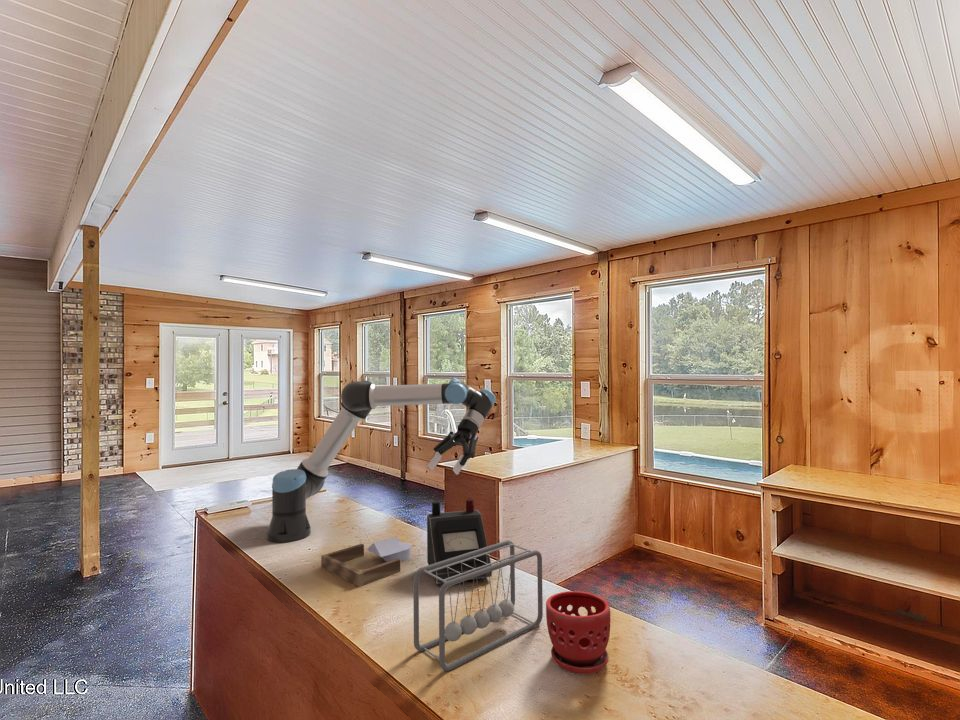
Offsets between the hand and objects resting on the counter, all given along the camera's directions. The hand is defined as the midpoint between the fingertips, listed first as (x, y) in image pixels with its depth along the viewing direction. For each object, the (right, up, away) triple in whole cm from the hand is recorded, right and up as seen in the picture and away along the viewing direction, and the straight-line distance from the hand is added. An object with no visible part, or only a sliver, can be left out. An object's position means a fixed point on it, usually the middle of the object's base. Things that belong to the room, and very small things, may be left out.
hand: (442, 470), depth 175 cm
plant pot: (+34, -23, -74) cm, 85 cm away
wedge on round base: (-15, -25, -17) cm, 34 cm away
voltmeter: (+7, -24, -30) cm, 39 cm away
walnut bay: (-23, -25, -25) cm, 42 cm away
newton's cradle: (+14, -23, -65) cm, 71 cm away
